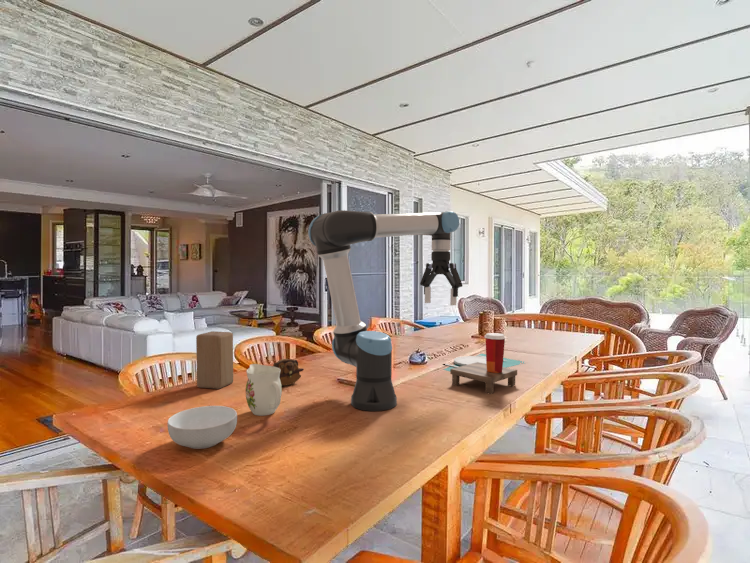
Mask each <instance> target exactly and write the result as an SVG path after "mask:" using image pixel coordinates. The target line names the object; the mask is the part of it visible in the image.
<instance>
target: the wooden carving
mask: <svg viewBox="0 0 750 563" xmlns="http://www.w3.org/2000/svg"><path fill="white" fill-rule="evenodd" d="M272 366H274V367H277V368H280V369H281V371H280V376H279V378H280V381H281V385H282V386H284V387H285V386H290V385H293V384H295V383H297V382H298V381H299V379H301V377H302V375H301V374H300V372H303V371H304V370H305V369H304V368H299V362H298V360H297V359H291V358H282V359H279V360H278V361H277V362H273V364H272Z"/></svg>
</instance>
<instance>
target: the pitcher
mask: <svg viewBox="0 0 750 563" xmlns="http://www.w3.org/2000/svg"><path fill="white" fill-rule="evenodd" d="M280 371H281V369H280V368H277V367H274V366H273V365H265V364H260V363H259V364H258V363H251V364H249V367H248V368H247V369H246V376H247V381H246V385H245V399H246V404H247V405H248V408H249V410H250V411H251V412H252V414H253V415H255V416H260V417H262V416H269V415H273V414H274V413H275V412H276V410H277V409H278V408H279V407H280V405H281V399H282V393H283V390H282V389H283V385H281V381H280V378H279V376H280Z"/></svg>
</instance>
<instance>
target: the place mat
mask: <svg viewBox="0 0 750 563" xmlns="http://www.w3.org/2000/svg"><path fill="white" fill-rule="evenodd" d="M476 362H479V363H485V364H486V353H479V354H477V355H464V356H457V357H455V358H453V364H448V363H446V364H445V365H444V366H447V367H446V368H444V369H442V371H446V372H450V369H452V368H456V367H460V366H464V365H468V364H472V363H476ZM520 362H521V363H522V360H516V359H512V358H507V357H503V367H505V368H511V367H515V366H519V365H521V364H520ZM524 362H525V361H523V364H525V363H524Z"/></svg>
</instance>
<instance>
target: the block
mask: <svg viewBox="0 0 750 563" xmlns="http://www.w3.org/2000/svg"><path fill="white" fill-rule="evenodd" d="M195 341H196V342H195V343H196V344H195V346H196V350H195V351H196V386H197V388H204V389H213V390H214V389H215V390H220V389H222V388H224V387H226V386H228V385H231V384H232V383H234V334H233V332H232V331H215V330H212V331H207V332H203V333H199V334H197V335H196V340H195Z"/></svg>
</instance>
